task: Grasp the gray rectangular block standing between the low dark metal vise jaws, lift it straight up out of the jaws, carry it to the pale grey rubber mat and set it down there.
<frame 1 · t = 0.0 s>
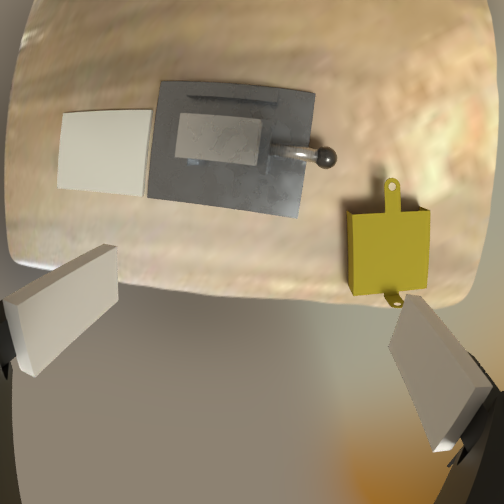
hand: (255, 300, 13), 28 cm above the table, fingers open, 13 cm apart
mat: (100, 151, 40), on the table
bracket: (383, 231, 40), on the table
vise: (228, 144, 38), on the table
gray rectangular block: (226, 144, 37), point 1 cm above the table, touching vise
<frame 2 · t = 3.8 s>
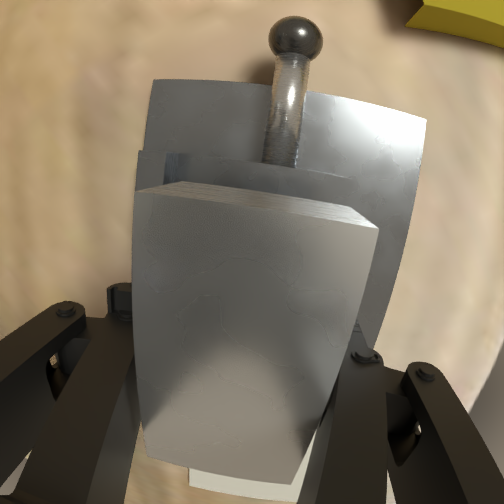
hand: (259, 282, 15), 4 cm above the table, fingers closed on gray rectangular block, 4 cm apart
mat: (254, 455, 24), on the table
vise: (265, 257, 19), on the table
gray rectangular block: (264, 262, 18), point 1 cm above the table, touching gripper, vise
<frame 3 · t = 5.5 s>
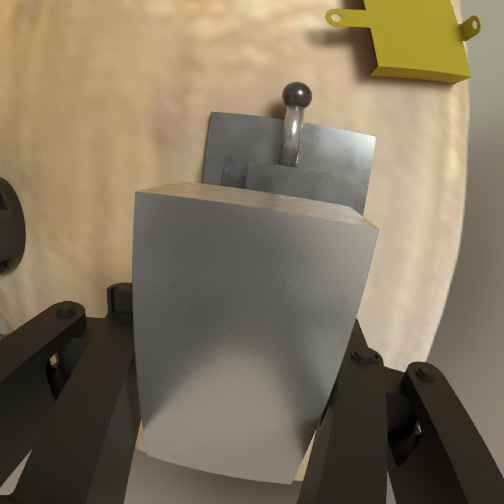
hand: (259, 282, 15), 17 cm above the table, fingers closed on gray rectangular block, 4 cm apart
bracket: (389, 36, 25), on the table
vise: (279, 221, 31), on the table
gray rectangular block: (264, 262, 18), point 14 cm above the table, touching gripper
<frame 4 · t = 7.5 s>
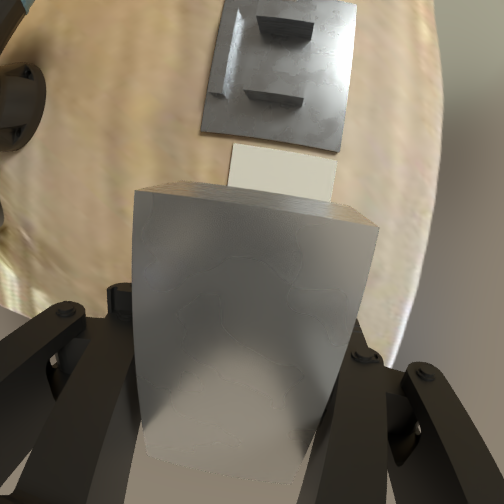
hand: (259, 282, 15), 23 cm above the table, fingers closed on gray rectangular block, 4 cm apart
mat: (274, 218, 37), on the table
vise: (282, 61, 32), on the table
gray rectangular block: (264, 262, 18), point 20 cm above the table, touching gripper
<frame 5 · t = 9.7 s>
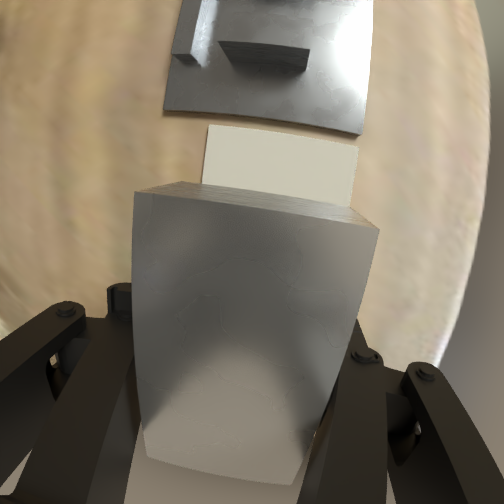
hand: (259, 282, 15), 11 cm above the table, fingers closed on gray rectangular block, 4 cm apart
mat: (270, 230, 26), on the table
vise: (276, 13, 21), on the table
gray rectangular block: (264, 262, 18), point 8 cm above the table, touching gripper
when the fingers open (5 cm above the table, at t = 11.6 s): gray rectangular block drops 1 cm, resting on mat.
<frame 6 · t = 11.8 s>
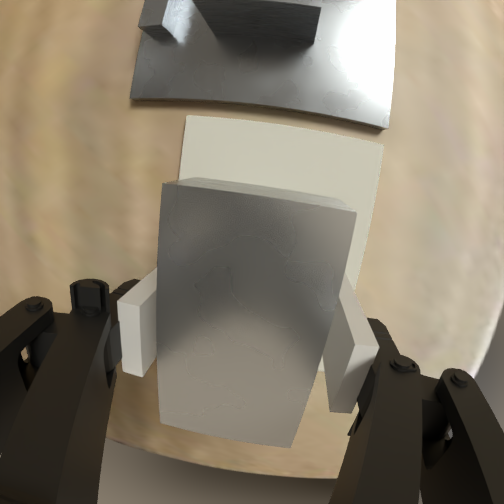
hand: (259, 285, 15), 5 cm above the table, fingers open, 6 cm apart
mat: (266, 253, 20), on the table
gray rectangular block: (265, 255, 20), point 1 cm above the table, touching mat
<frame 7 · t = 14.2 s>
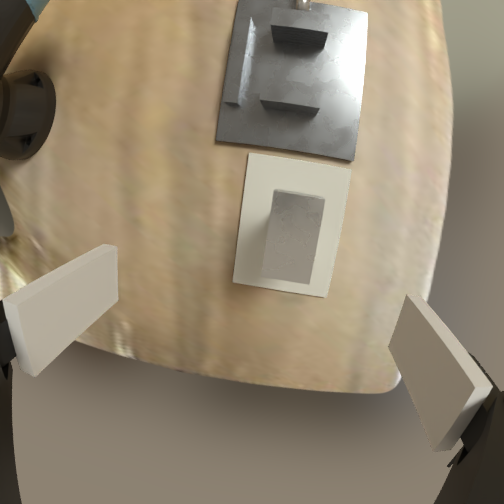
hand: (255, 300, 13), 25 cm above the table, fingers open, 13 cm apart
mat: (290, 226, 37), on the table
vise: (295, 70, 32), on the table
gray rectangular block: (290, 227, 37), point 1 cm above the table, touching mat
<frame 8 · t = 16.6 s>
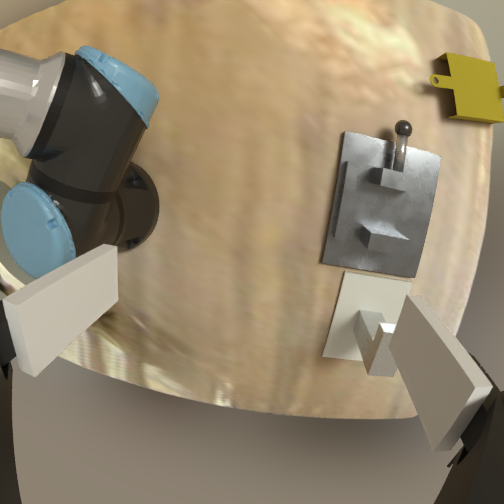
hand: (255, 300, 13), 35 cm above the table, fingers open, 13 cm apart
mat: (366, 320, 50), on the table
bracket: (456, 90, 38), on the table
vise: (383, 207, 45), on the table
gray rectangular block: (367, 321, 49), point 1 cm above the table, touching mat
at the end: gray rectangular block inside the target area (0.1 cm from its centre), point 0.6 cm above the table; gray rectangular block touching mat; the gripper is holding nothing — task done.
